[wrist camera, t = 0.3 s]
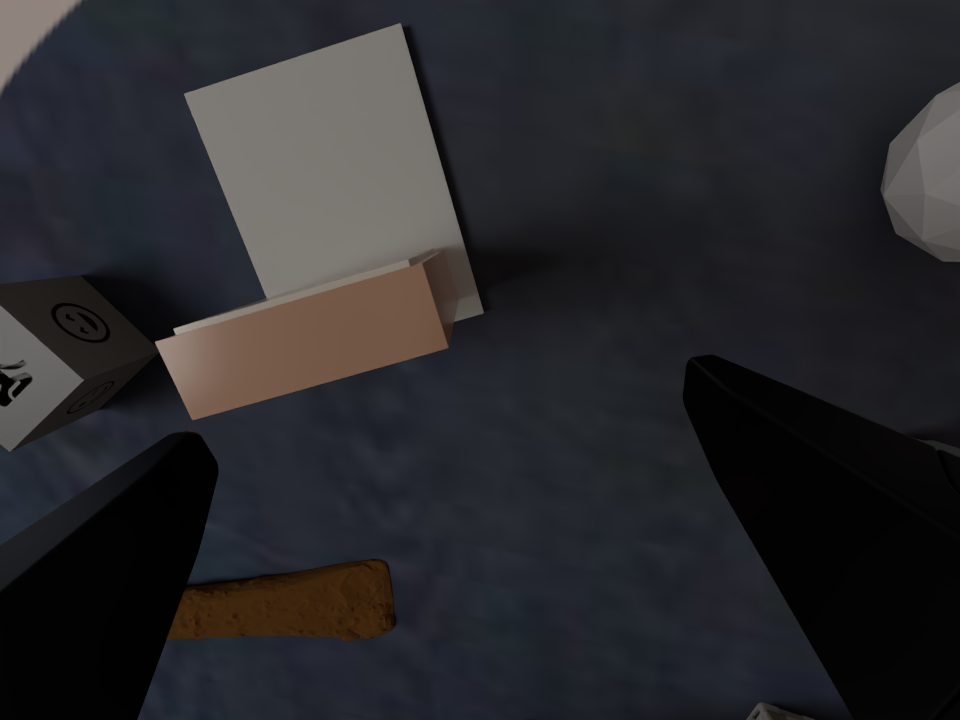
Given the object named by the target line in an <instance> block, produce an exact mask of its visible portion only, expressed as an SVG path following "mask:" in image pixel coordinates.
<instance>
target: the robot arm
mask: <svg viewBox="0 0 960 720" xmlns="http://www.w3.org/2000/svg"><path fill="white" fill-rule="evenodd" d="M683 402H684V406H685V409H686V411H687V413H688V416H689V418H690V420H691V423H692V425H693V427H694V430H695V432H696V434H697V437H698V439H699V441H700V444H701V446H702V448H703V451H704V453H705V455H706V458H707V460H708V462H709V465H710V467H711V469H712V471H713V473H714V476H715V478H716V480H717V482H718V483H719V485H720V487H721V489H722V491H723V492H724V494H725V496H726V498H727V499H728V501H729V503H730V505H731V506H732V508H733V510H734V512H735V513H736V515H737V517H738V519H739V520H740V522H741V524H742V526H743V527H744V529H745V531H746V532H747V534H748V536H749V538H750V539H751V541H752V543H753V545H754V546H755V548H756V550H757V552H758V553H759V555H760V557H761V559H762V560H763V562H764V564H765V565H766V567H767V569H768V571H769V572H770V574H771V576H772V578H773V579H774V581H775V583H776V585H777V586H778V588H779V590H780V592H781V593H782V595H783V597H784V598H785V600H786V602H787V604H788V605H789V607H790V609H791V611H792V612H793V614H794V616H795V618H796V619H797V621H798V623H799V625H800V626H801V628H802V630H803V631H804V633H805V635H806V637H807V638H808V640H809V642H810V644H811V645H812V647H813V649H814V651H815V652H816V654H817V656H818V658H819V659H820V661H821V663H822V664H823V666H824V668H825V670H826V671H827V673H828V675H829V677H830V678H831V680H832V682H833V684H834V685H835V687H836V689H837V691H838V692H839V694H840V696H841V697H842V699H843V701H844V703H845V704H846V706H847V708H848V710H849V711H850V713H851V715H852V717H853V718H854V720H960V457H959V456H956V455H954V454H952V453H949V452H947V451H945V450H942V449H939V450H936V448H935V447H934V446H932V445H930V444H927V443H925V442H923V441H920V440H918V439H915V438H913V437H911V436H908V435H906V434H903V433H901V432H898V431H896V430H894V429H891V428H889V427H886V426H884V425H882V424H879V423H877V422H874V421H872V420H870V419H867V418H865V417H862V416H860V415H858V414H855V413H853V412H850V411H848V410H846V409H843V408H841V407H838V406H836V405H833V404H831V403H829V402H826V401H824V400H821V399H819V398H817V397H814V396H812V395H809V394H807V393H805V392H802V391H800V390H797V389H795V388H793V387H790V386H788V385H785V384H783V383H780V382H778V381H776V380H773V379H771V378H768V377H766V376H764V375H761V374H759V373H756V372H754V371H752V370H749V369H747V368H744V367H742V366H740V365H737V364H735V363H732V362H730V361H728V360H725V359H723V358H720V357H718V356H715V355H704V356H698V357H692V358H690V359H689V360H688V362H687V365H686V372H685V381H684V389H683ZM217 478H218V464H217V461H216V459H215V458H214V456H213V454H212V453H211V451H210V450H209V448H208V446H207V445H206V443H205V441H204V440H203V438H202V436H201V435H200V434H199V433H198V432H196V431H184V432H177V433H172V434H170V435H168V436H166V437H165V438H163V439H162V440H160V441H159V442H157V443H156V444H154V445H153V446H151V447H150V448H148V449H147V450H145V451H143V452H142V453H140V454H139V455H137V456H136V457H134V458H133V459H131V460H130V461H128V462H127V463H125V464H124V465H122V466H121V467H119V468H118V469H116V470H115V471H113V472H111V473H110V474H108V475H107V476H105V477H104V478H102V479H101V480H99V481H98V482H96V483H95V484H93V485H92V486H90V487H89V488H87V489H86V490H84V491H83V492H81V493H80V494H78V495H76V496H75V497H73V498H72V499H70V500H69V501H67V502H66V503H64V504H63V505H61V506H60V507H58V508H57V509H55V510H54V511H52V512H51V513H49V514H48V515H46V516H44V517H43V518H41V519H40V520H38V521H37V522H35V523H34V524H32V525H31V526H29V527H28V528H26V529H25V530H23V531H22V532H20V533H19V534H17V535H16V536H14V537H13V538H11V539H9V540H8V541H6V542H5V543H3V544H2V545H0V720H137V719H138V716H139V713H140V711H141V708H142V705H143V702H144V700H145V697H146V694H147V692H148V689H149V686H150V683H151V681H152V678H153V675H154V672H155V670H156V667H157V664H158V661H159V659H160V656H161V653H162V651H163V648H164V645H165V642H166V640H167V637H168V634H169V631H170V629H171V626H172V623H173V621H174V618H175V615H176V612H177V610H178V607H179V604H180V601H181V599H182V596H183V593H184V590H185V588H186V585H187V582H188V580H189V577H190V574H191V571H192V569H193V566H194V563H195V560H196V557H197V554H198V551H199V548H200V544H201V541H202V537H203V533H204V529H205V525H206V521H207V517H208V513H209V509H210V505H211V501H212V497H213V494H214V490H215V486H216V482H217Z"/></svg>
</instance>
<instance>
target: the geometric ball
mask: <svg viewBox="0 0 960 720" xmlns="http://www.w3.org/2000/svg"><path fill="white" fill-rule="evenodd" d="M880 191H881V193H882V196H883V199H884V202H885V205H886V207H887V210H888V213H889V216H890V219H891V222H892V224H893V227H894V230H895V233H896V234H897V235H899V236H901V237H902V238H904V239H906V240H907V241H909V242H911V243H912V244H914V245H916V246H918V247H919V248H921V249H923V250H924V251H926V252H928V253H929V254H931V255H933V256H934V257H936V258H938V259H939V260H941V261H943V262H960V82H959V83H958V84H956V85H954V86H952V87H950V88H948V89H947V90H945V91H943V92H941V93H939V94H937V95H936V96H935V97H934V98H933V99H932V100H931V101H930V102H929V103H928V104H927V105H926V106H925V107H924V108H923V110H922V111H921V112H920V113H919V114H918V115H917V116H916V117H915V118H914V119H913V120H912V121H911V122H910V123H909V124H908V125H907V126H906V127H905V128H904V129H903V130H902V131H901V132H900V133H899V134H898V136H897V137H896V138H895V139H894V140H893V141H892V142H891V143H890V146H889V150H888V155H887V160H886V165H885V170H884V175H883V180H882V185H881V189H880Z"/></svg>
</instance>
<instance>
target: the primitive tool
mask: <svg viewBox="0 0 960 720" xmlns="http://www.w3.org/2000/svg"><path fill="white" fill-rule="evenodd" d="M393 614H394V601H393V597H392V586H391V580H390V575H389V571H388V568H387V564H386V562H385V561H383V560H380V559H377V560H365V561H357V562H346V563H340V564H336V565H330V566H325V567H320V568H316V569H310V570H304V571H299V572H296V573H288V574H279V575H273V576H263V577H257V578H255V579H251V580H236V581H232V582H225V583H216V584H210V585H202V586H191V587H187V588H185V590H184V593H183V596H182V599H181V601H180V604H179V607H178V610H177V612H176V615H175V618H174V621H173V623H172V626H171V629H170V631H169V634H168V637H167V640H168V639H178V638H179V639H191V638H192V639H203V638H210V637H242V636H269V635H270V636H283V635H289V636H309V637H320V636H328V637H329V638H330V637H340V638H341V639H343V640H344V641H345V642H351V641H353V640H356V639H358V638H365V639H369V638H374V637H377V636H379V635H381V634H383V633H388V632H389V631H390V630H392V629H393V627H394V617H393Z"/></svg>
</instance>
